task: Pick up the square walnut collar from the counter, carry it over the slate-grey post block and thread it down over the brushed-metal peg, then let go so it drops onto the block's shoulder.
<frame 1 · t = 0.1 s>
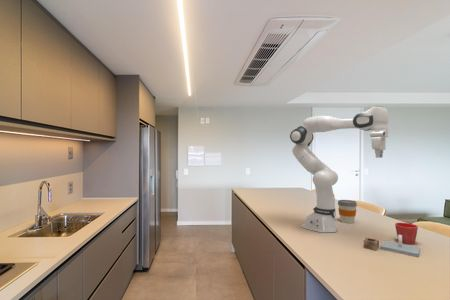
hand: (379, 157, 150), 48 cm above the countertop, fingers open, 8 cm apart
collar: (371, 247, 137), on the countertop
flower pot: (406, 242, 146), on the countertop
reusable coffee cup: (347, 221, 189), on the countertop
post block: (400, 249, 134), on the countertop
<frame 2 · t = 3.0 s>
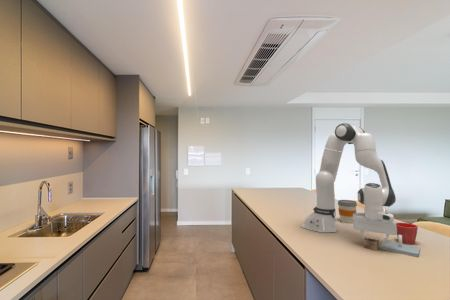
hand: (374, 240, 137), 4 cm above the countertop, fingers open, 8 cm apart
collar: (371, 247, 137), on the countertop, touching gripper
everything else where it was.
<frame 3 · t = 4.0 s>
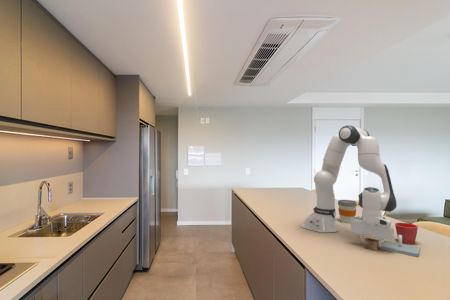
hand: (371, 244, 137), 2 cm above the countertop, fingers closed on collar, 6 cm apart
collar: (371, 247, 136), on the countertop, touching gripper
everything else where it was.
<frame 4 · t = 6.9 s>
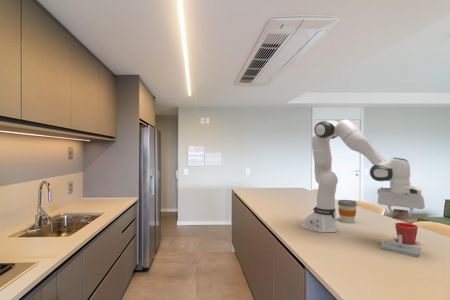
hand: (400, 215, 134), 18 cm above the countertop, fingers closed on collar, 6 cm apart
collar: (400, 218, 134), point 16 cm above the countertop, touching gripper
everything else where it was.
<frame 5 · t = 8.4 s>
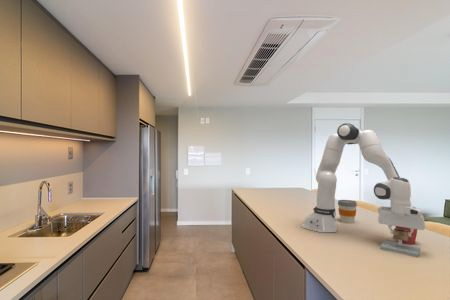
hand: (400, 235, 134), 8 cm above the countertop, fingers closed on collar, 6 cm apart
collar: (400, 238, 134), point 6 cm above the countertop, touching gripper
everything else where it was.
when the fingers open (6 cm above the countertop, at t = 9.7 s): collar drops 2 cm, resting on post block.
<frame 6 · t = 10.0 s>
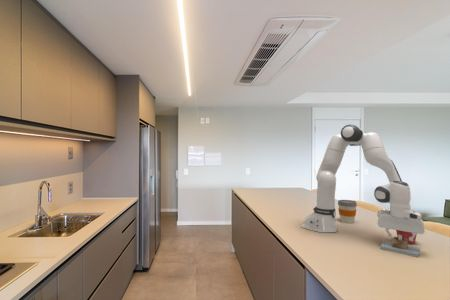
hand: (400, 238, 134), 6 cm above the countertop, fingers open, 8 cm apart
collar: (400, 246, 134), point 1 cm above the countertop, touching post block
everything else where it was.
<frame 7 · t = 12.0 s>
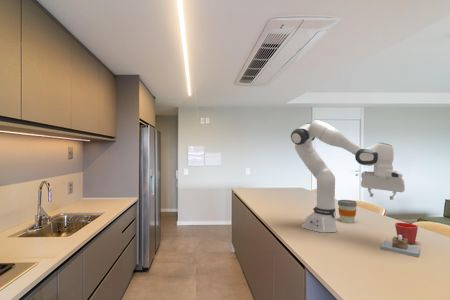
hand: (381, 198, 139), 26 cm above the countertop, fingers open, 8 cm apart
nothing on the countertop moved.
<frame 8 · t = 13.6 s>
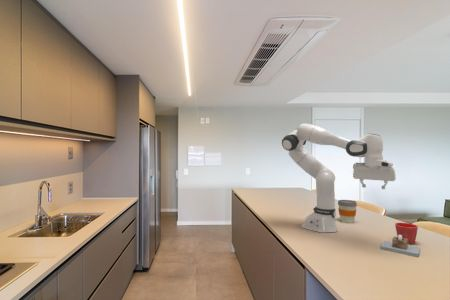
hand: (373, 188, 141), 31 cm above the countertop, fingers open, 8 cm apart
nothing on the countertop moved.
at the end: collar 0.1 cm off-centre on the post block, point 1.5 cm above the post block's base; the gripper is holding nothing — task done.
